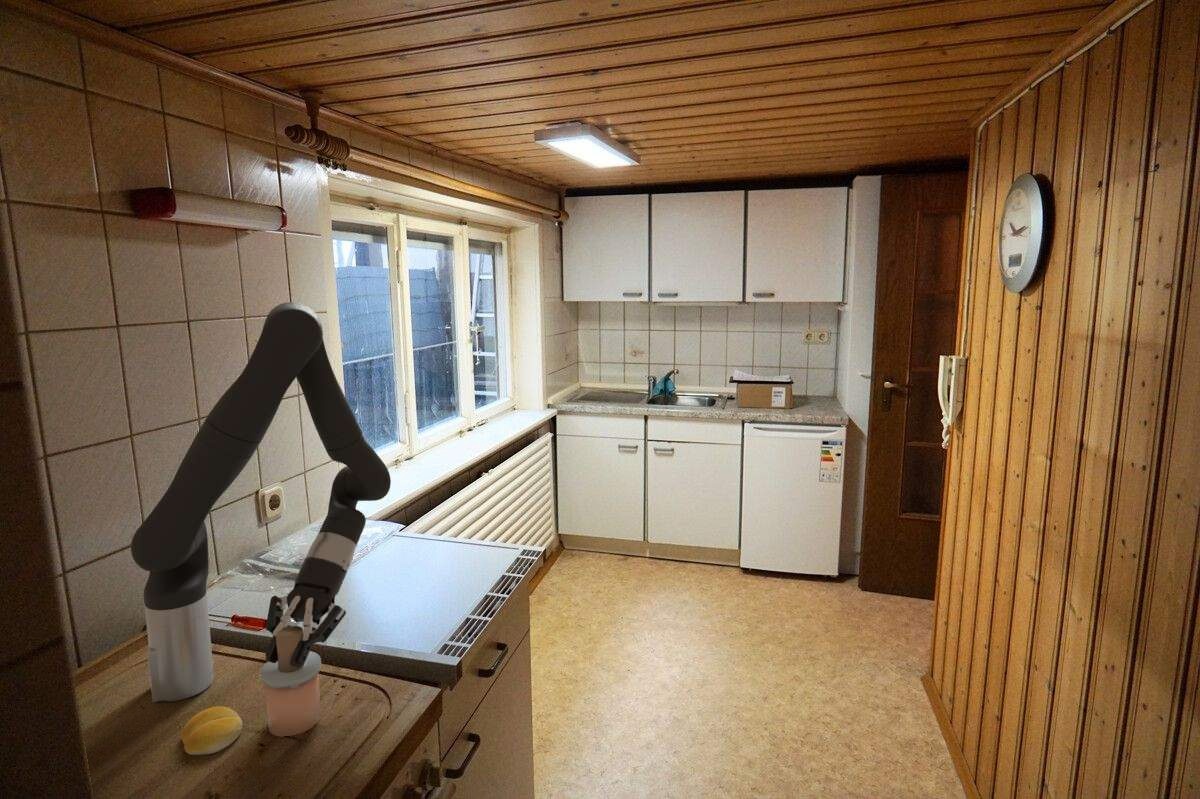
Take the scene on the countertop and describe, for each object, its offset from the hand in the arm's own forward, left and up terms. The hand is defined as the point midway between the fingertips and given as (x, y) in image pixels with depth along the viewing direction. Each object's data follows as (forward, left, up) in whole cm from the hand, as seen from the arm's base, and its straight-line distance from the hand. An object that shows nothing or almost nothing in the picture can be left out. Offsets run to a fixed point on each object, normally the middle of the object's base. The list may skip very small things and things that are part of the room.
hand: (282, 663), depth 104 cm
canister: (+1, +1, -12) cm, 12 cm away
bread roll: (-11, +4, -12) cm, 17 cm away
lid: (+1, +1, -4) cm, 4 cm away
